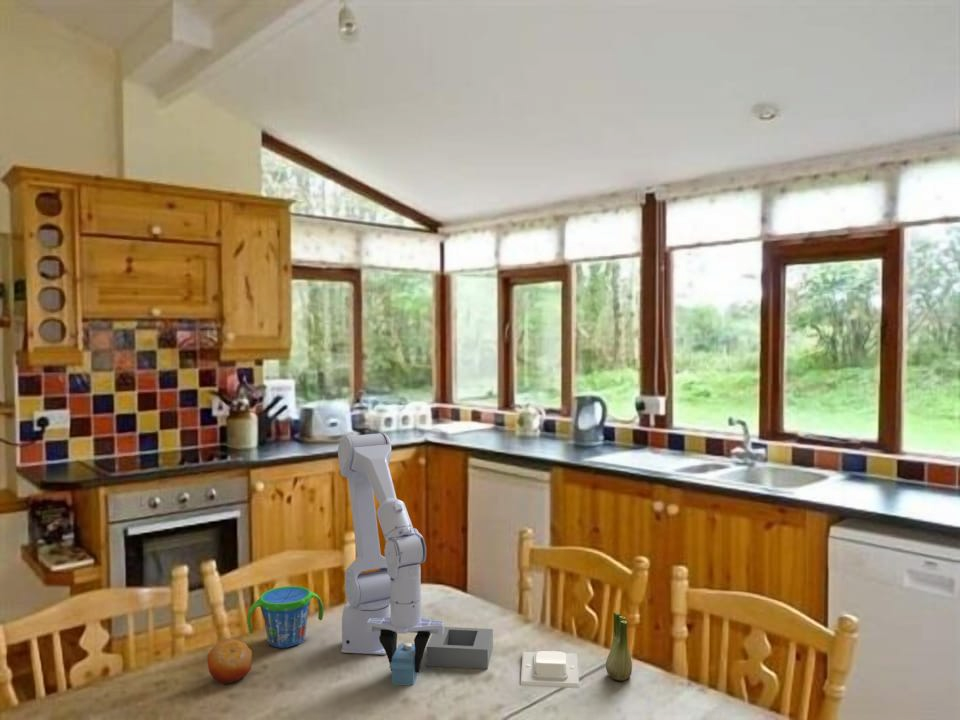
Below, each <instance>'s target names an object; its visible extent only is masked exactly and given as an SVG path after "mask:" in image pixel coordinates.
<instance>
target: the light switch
mask: <svg viewBox="0 0 960 720" xmlns="http://www.w3.org/2000/svg"><path fill="white" fill-rule="evenodd" d="M578 665H579V663H578V654H577V653H572V652H568V653H567V652H564V651H556V650H554V651H552V650H551V651H550V650H545V651H544V650H542V651H541V650H539V651H538V650H537V651H523V652H522V655H521V668H520V682H519V685H520V686H521V687H542V688H543V687H546V688H566V689H567V688H571V689H579V688H580V679H579V678H580V677H579V666H578Z"/></svg>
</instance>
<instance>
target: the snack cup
mask: <svg viewBox="0 0 960 720" xmlns="http://www.w3.org/2000/svg"><path fill="white" fill-rule="evenodd" d="M313 598H315V599H317V603H318V616H317V618H318V620H319V621H322V620H323V618H324V617H323V616H324V604H323V602H322V599H321V598H320V597H319V595H318V594H317V593H315V592H313V591H311V590H310V589H308V588H307V587H303V586H298V585H297V586H295V585H293V586H292V585H290V586H279V587H274V588H272V589H269V590H267V591H264V592H263V593H262V594H260V596H259V598H258V599H257V600H256V601H255V602H253V603H252V605H251V606H250V608H249V610H248V611H247V612H248V613H247V619H246V623H247V628H248V631H249V633H250V634H252V633H253V629H252V621H251V617H252V614H253V612H254V611H256V609H257V608H258V607H259V608H260V611H261V614H262V617H263V621H264V626H265V632H266V637H267V642H268V644H269V645H271V646H272V647H275V648H279V649H285V648H291V647H294V646H296V645H301V643H302V642H303V641H304V640H305V638H306V632H307V624H308V623H307V622H308V614H309V607H310V605H311V600H312V599H313Z"/></svg>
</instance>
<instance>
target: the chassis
mask: <svg viewBox="0 0 960 720" xmlns="http://www.w3.org/2000/svg"><path fill="white" fill-rule="evenodd" d="M493 648H494V629H493V628H481V627H480V628H478V627H477V628H476V627H457V626H456V627H454V626H452V627H451V626H444V634H443V635H437V634H433V633H431V635H430V637H429V639H428V642H427V644H426V666H427V667H440V668H441V667H443V668H444V667H446V668H463V669H479V670H480V669H484V670H488V669H489V666H490V665H489V664H490V662H491V657H492V652H493Z"/></svg>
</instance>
